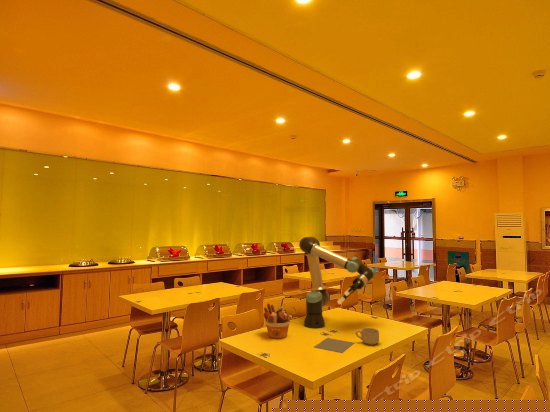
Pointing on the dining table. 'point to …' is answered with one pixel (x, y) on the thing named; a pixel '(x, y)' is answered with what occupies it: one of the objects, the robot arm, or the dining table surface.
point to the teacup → (369, 335)
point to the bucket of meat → (276, 322)
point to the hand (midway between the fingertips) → (341, 299)
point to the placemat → (334, 345)
